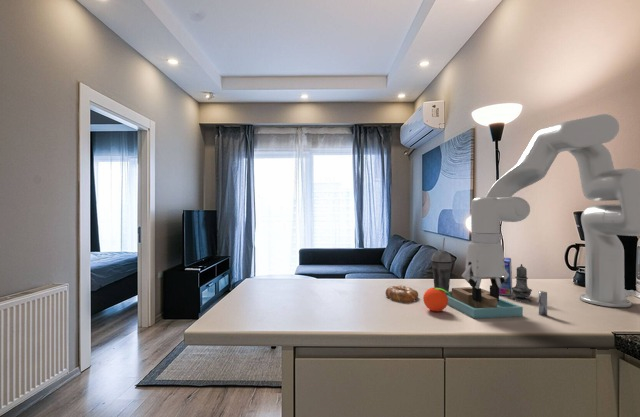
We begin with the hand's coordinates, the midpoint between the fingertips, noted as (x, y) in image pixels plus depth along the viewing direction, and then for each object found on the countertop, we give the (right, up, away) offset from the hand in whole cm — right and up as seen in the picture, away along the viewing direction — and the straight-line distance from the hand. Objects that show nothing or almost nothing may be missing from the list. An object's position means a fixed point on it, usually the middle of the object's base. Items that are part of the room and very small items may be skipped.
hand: (485, 299), depth 97 cm
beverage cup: (-5, -4, +21) cm, 22 cm away
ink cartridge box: (+18, -4, +22) cm, 29 cm away
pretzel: (-21, -4, +15) cm, 26 cm away
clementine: (-14, -4, 0) cm, 15 cm away
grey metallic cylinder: (+15, -3, -3) cm, 15 cm away
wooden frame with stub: (-1, -3, +4) cm, 5 cm away
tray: (-1, -3, +4) cm, 6 cm away
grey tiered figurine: (+18, -4, +12) cm, 22 cm away
